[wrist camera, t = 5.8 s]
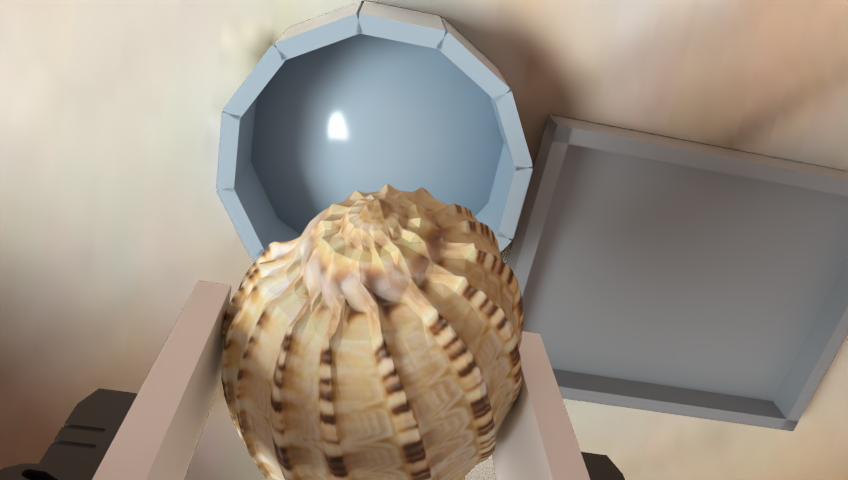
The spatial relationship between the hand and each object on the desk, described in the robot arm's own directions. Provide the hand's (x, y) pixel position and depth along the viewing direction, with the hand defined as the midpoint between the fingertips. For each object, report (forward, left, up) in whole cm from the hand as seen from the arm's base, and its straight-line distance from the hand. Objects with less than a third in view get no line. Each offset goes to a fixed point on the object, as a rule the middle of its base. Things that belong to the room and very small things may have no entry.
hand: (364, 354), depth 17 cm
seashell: (0, 0, -1) cm, 2 cm away
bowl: (0, 0, -16) cm, 16 cm away
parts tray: (+16, -4, -16) cm, 23 cm away
